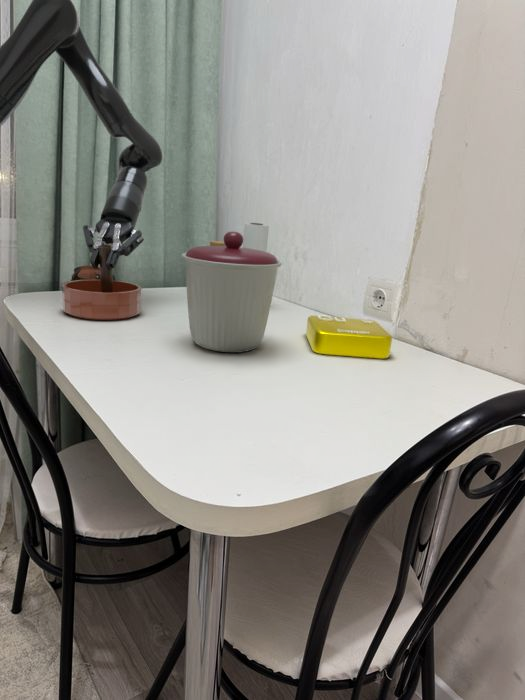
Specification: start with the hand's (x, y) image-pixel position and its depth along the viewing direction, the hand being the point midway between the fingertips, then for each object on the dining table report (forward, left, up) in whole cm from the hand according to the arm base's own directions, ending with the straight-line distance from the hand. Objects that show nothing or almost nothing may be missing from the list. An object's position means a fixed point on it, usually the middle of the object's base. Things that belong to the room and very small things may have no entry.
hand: (101, 266), depth 106 cm
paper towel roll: (+29, +27, -11) cm, 42 cm away
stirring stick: (0, +4, -10) cm, 10 cm away
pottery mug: (-12, +22, -11) cm, 27 cm away
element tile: (+52, -3, -11) cm, 54 cm away
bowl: (-1, +3, -11) cm, 11 cm away
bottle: (+17, +38, -11) cm, 44 cm away
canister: (+29, -12, -11) cm, 33 cm away
